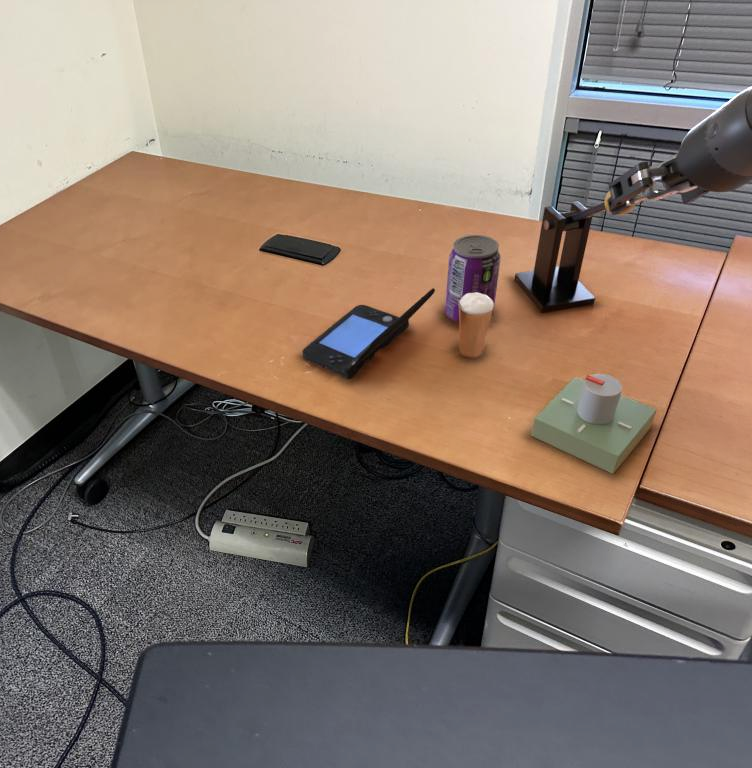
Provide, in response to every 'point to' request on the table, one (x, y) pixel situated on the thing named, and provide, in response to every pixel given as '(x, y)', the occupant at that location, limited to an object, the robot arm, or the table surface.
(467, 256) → the beverage can
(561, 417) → the green dial knob panel
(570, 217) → the latch lever
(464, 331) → the milkshake
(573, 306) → the latch bracket
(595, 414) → the lock knob
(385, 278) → the table surface
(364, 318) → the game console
